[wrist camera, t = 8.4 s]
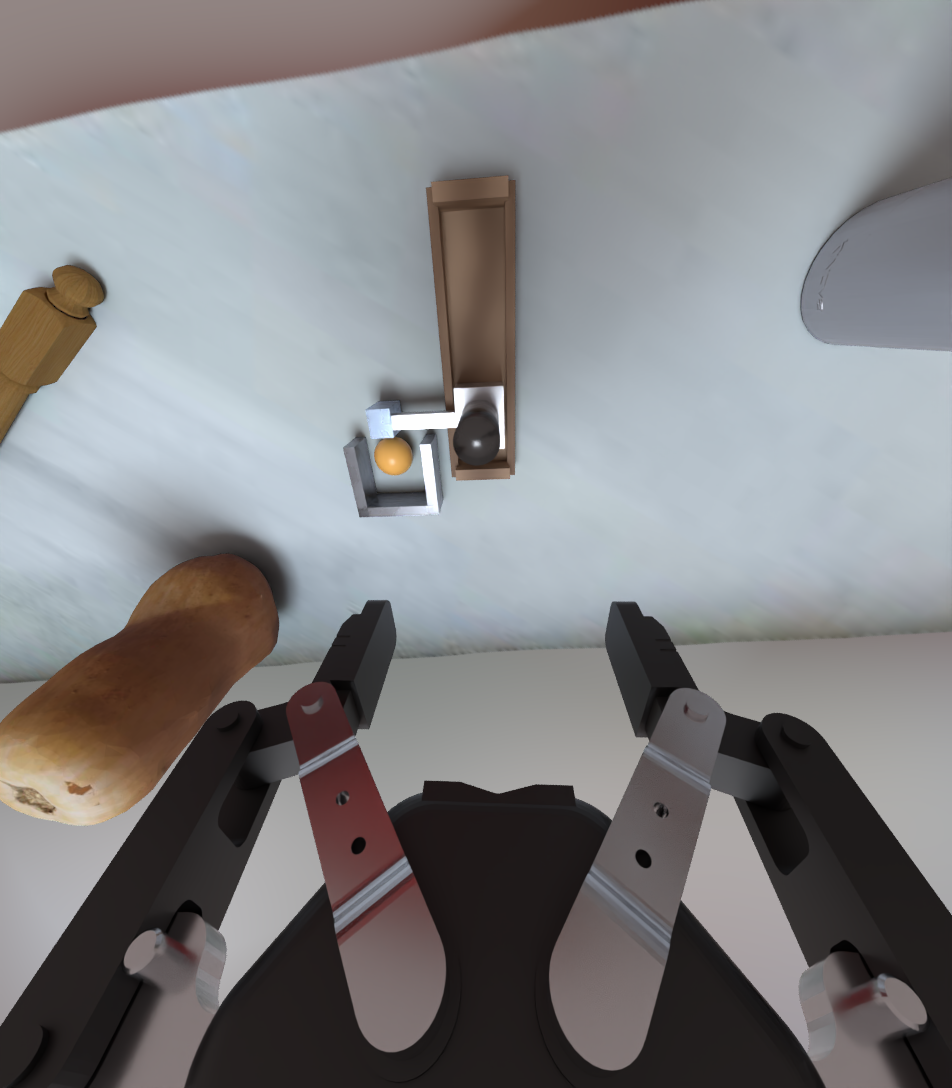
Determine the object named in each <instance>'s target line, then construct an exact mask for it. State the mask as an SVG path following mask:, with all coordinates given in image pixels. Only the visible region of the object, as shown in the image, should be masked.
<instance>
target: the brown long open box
mask: <svg viewBox="0 0 952 1088" xmlns="http://www.w3.org/2000/svg"><path fill="white" fill-rule="evenodd" d="M431 185H432V187H427V188H426V193H427V204H428V215H429V226H430V237H431V248H432V260H433V271H434V282H435V293H436V304H437V315H438V326H439V338H440V349H441V360H442V371H443V382H444V393H445V404H446V410H455V400H454V387H455V386H456V384H458V383H478V382H497V381H503V386H504V448H501V449H499V452H498V454H497V455H496V457H495V458H494V459H493V460H492V461H490V462H489V463H487V464H484V465H479V466H474V465H470V464H467V463H465V462H463V461H462V460H461V459H460V458H459V457H458V456H457V454H456V453H455V450H454V447H453V436H454V433H455V430H456V427H455V428H448V438H449V449H450V460H451V471H452V477H456V481H458V480H487V479H510V475H515V180H510V181H508V175H507V176H495V177H484V178H472V179H460V180H449V181H437V182H431Z"/></svg>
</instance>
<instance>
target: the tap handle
mask: <svg viewBox="0 0 952 1088" xmlns="http://www.w3.org/2000/svg"><path fill="white" fill-rule="evenodd" d="M52 277H53V281H54V284H55V287H52V288H45V287H39V288H32V289H28V290H24V291H23V292H22V294H21V295H20V297H19V299H18V300H17V302H16V304H15V305H14V307H13V309H12V310H11V312H10V314H9V315H8V317H7V319H6V320H5V322H4V324H3V325H2V327H1V329H0V443H1V441H2V439H3V438H4V436H5V434H6V433H7V431H8V429H9V427H10V426H11V424H12V422H13V421H14V419H15V417H16V416H17V414H18V412H19V410H20V409H21V407H22V405H23V404H24V402H25V400H26V398H27V397H28V395H29V394H32V393H36V392H37V391H38V390H39V388H40V386H44V385H48V384H52V383H55V382H57V381H58V379H59V378H60V376H61V375H62V374H63V372H64V371H65V370H66V368H67V367H68V365H69V364H70V363H71V361H72V360H73V359H74V357H75V356H76V355H77V353H78V352H79V350H80V349H81V348H82V346H83V345H84V344H85V342H86V341H87V339H88V338H89V337H90V335H91V334H92V333H93V331H94V330H95V328H96V327H97V326H96V323H95V321H94V320H93V318H92V317H91V316H90V314H89V311H88V308H87V307H89V308H90V307H94V306H96V305H99V304H100V303H102V302H103V300H104V294H103V291H102V288H101V285H100V284H99V282H98V281H97V280H96V279H95V278H94V277H93V276H92V275H91V274H89V273H87V272H86V271H84V270H83V269H80V268H77V267H75V266H71V265H66V266H62V267H58V268H56V269H55V270H54V271H53V274H52ZM53 304H54V305H55V306H56V307H57V308H58V309H59V310H61V311H63V312H65V313H66V314H68V315H70V316H74V317H78V318H83V317H86V316H87V318H86V319H76V318H73V317H70V316H67V315H66V314H64V313H62V312H61V311H59V310H57V309H56V308H55V307H54V306H53Z"/></svg>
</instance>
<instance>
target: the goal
mask: <svg viewBox="0 0 952 1088" xmlns="http://www.w3.org/2000/svg"><path fill="white" fill-rule="evenodd" d="M343 449H344V454H345V458H346V462H347V466H348V470H349V475H350V479H351V483H352V487H353V491H354V495H355V500H356V504H357V508H358V512H359V516H360V517H382V516H417V515H439V513H440V509H441V506H442V503H443V494H442V485H441V476H440V466H439V457H438V447H437V438H436V434H427V435H425V437H424V438H423V440H422V442H421V443H420V451H421V458H422V466H423V474H424V481H425V489H426V492H416V493H386V494H377V491H376V486H375V481H374V476H373V471H372V466H371V461H370V456H369V452H368V447H367V442H366V437H357V438H354V439H353V440H352V441H351V442H350V443H348V444H347V445H346V446H345V447H343Z"/></svg>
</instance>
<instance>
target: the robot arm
mask: <svg viewBox="0 0 952 1088" xmlns="http://www.w3.org/2000/svg"><path fill="white" fill-rule="evenodd" d="M801 311H802V316H803V321H804V323H805V325H806V327H807V329H808V331H809V332H810V333H811V334H812V335H813V336H814V337H815V338H816V339H818V340H820V341H822V342H824V343H828V344H834V345H847V346H865V347H879V348H897V349H916V350H935V351H952V178H949V179H945V180H942V181H939V182H936V183H932V184H929V185H926V186H923V187H920V188H917V189H914V190H911V191H908V192H905V193H902V194H899V195H896V196H893V197H890V198H887V199H884V200H881V201H878V202H876V203H874V204H872V205H870V206H868V207H866V208H864V209H863V210H861V211H860V212H858V213H857V214H856V215H854V216H853V217H852V218H850V219H849V220H847V221H846V222H845V223H844V224H843V225H842V226H841V227H840V228H839V229H838V230H837V231H836V232H835V233H834V234H833V235H832V236H831V238H830V239H829V240H828V241H827V243H826V244H825V245H824V246H823V248H822V249H821V251H820V252H819V254H818V256H817V257H816V259H815V261H814V262H813V264H812V266H811V268H810V271H809V273H808V276H807V278H806V280H805V284H804V289H803V293H802V302H801ZM605 643H606V649H607V653H608V655H609V659H610V662H611V665H612V668H613V671H614V673H615V676H616V680H617V683H618V686H619V688H620V691H621V694H622V697H623V700H624V703H625V706H626V709H627V712H628V715H629V718H630V721H631V724H632V727H633V730H634V733H635V736H636V737H648V739H649V743H648V745H647V746H646V747H645V749H644V752H643V754H642V756H641V758H640V760H639V763H638V765H637V767H636V769H635V771H634V774H633V776H632V778H631V781H630V782H629V785H628V787H627V789H626V791H625V794H624V796H623V798H622V800H621V802H620V805H619V807H618V809H617V812H616V814H615V816H614V818H613V820H611V819H610V818H609V817H608V816H606V815H605V814H604V813H602V812H601V811H600V810H598V809H597V808H595V807H594V806H592V805H590V804H588V803H586V802H584V801H582V800H579V799H576V798H575V796H574V790H573V786H566V785H565V786H564V785H537V784H536V785H532V786H528V787H524V788H520V789H516V790H512V791H508V792H505V793H500V794H496V793H493V792H489V791H486V790H483V789H480V788H477V787H474V786H471V785H468V784H465V783H462V782H449V781H424V788H423V793H420V794H416V795H414V796H411V797H409V798H407V799H405V800H403V801H402V802H400V803H398V804H397V805H396V806H394V807H393V808H392V809H390V810H389V811H388V812H387V811H386V808H385V806H384V803H383V801H382V799H381V796H380V794H379V791H378V789H377V787H376V784H375V782H374V780H373V777H372V775H371V772H370V770H369V768H368V765H367V763H366V760H365V758H364V756H363V753H362V751H361V748H360V746H359V744H358V741H357V739H356V738H355V736H356V733H357V730H358V729H369V728H370V725H371V722H372V718H373V715H374V712H375V709H376V706H377V703H378V700H379V696H380V693H381V690H382V687H383V684H384V681H385V678H386V674H387V671H388V668H389V665H390V662H391V659H392V656H393V652H394V649H395V645H396V628H395V623H394V618H393V614H392V609H391V604H390V602H389V601H388V600H368V601H367V602H366V604H365V606H364V608H363V611H362V613H361V614H353V615H352V616H351V617H350V618H349V619H348V620H346V621H345V622H344V623H343V624H342V626H341V628H340V630H339V632H338V634H337V637H336V638H335V639H334V641H333V643H332V647H330V649H329V651H328V653H327V655H326V657H325V659H324V661H323V663H322V665H321V666H320V668H319V670H318V672H317V674H316V676H315V678H314V680H313V682H312V683H311V684H308V685H306V686H304V687H302V688H301V689H299V690H298V691H297V692H296V693H295V694H294V695H293V696H292V697H291V699H290V700H289V702H286V703H283V704H279V705H276V706H272V707H268V708H264V709H260V710H257V709H256V707H255V705H254V704H253V703H251V702H249V701H236V702H233V703H230V704H228V705H225V706H223V707H222V708H220V709H219V710H217V711H216V712H215V713H213V714H212V715H211V716H210V717H209V718H208V719H207V721H206V722H205V723H204V725H203V726H202V728H201V729H200V731H199V732H198V734H197V735H196V737H195V738H194V740H193V741H192V742H191V744H190V746H189V747H188V748H187V750H186V751H185V753H184V754H183V756H182V758H181V759H180V760H179V762H178V763H177V765H176V766H175V768H174V769H173V771H172V772H171V774H170V775H169V777H168V778H167V780H166V781H165V783H164V784H163V786H162V787H161V789H160V790H159V792H158V793H157V795H156V796H155V798H154V799H153V801H152V802H151V803H150V805H149V806H148V808H147V809H146V811H145V812H144V814H143V815H142V817H141V818H140V820H139V821H138V823H137V824H136V826H135V827H134V829H133V830H132V832H131V833H130V835H129V836H128V838H127V839H126V841H125V842H124V843H123V845H122V847H121V848H120V850H119V851H118V852H117V854H116V855H115V857H114V858H113V860H112V861H111V863H110V864H109V866H108V867H107V869H106V870H105V872H104V873H103V875H102V876H101V878H100V879H99V881H98V882H97V884H96V885H95V887H94V888H93V890H92V891H91V893H90V894H89V895H88V897H87V898H86V900H85V902H84V903H83V905H82V906H81V907H80V909H79V911H78V912H77V913H76V915H75V916H74V918H73V919H72V921H71V922H70V924H69V925H68V927H67V928H66V930H65V931H64V933H63V934H62V936H61V937H60V939H59V940H58V942H57V944H56V945H55V946H54V948H53V949H52V951H51V952H50V953H49V955H48V956H47V958H46V960H45V961H44V962H43V964H42V965H41V967H40V968H39V970H38V971H37V973H36V974H35V976H34V977H33V979H32V980H31V982H30V983H29V985H28V986H27V988H26V989H25V991H24V992H23V994H22V995H21V997H20V998H19V1000H18V1001H17V1002H16V1004H15V1005H14V1007H13V1008H12V1010H11V1011H10V1013H9V1014H8V1016H7V1017H6V1019H5V1021H4V1022H3V1023H2V1025H1V1026H0V1088H952V915H951V914H950V912H949V911H948V910H947V908H946V907H945V905H944V904H943V902H942V901H941V900H940V898H939V897H938V896H937V894H936V893H935V892H934V890H933V889H932V887H931V886H930V885H929V883H928V882H927V880H926V879H925V878H924V876H923V875H922V873H921V872H920V871H919V869H918V868H917V867H916V865H915V864H914V862H913V861H912V860H911V858H910V857H909V855H908V854H907V853H906V851H905V850H904V849H903V847H902V846H901V844H900V843H899V842H898V840H897V839H896V838H895V836H894V835H893V833H892V832H891V831H890V829H889V828H888V826H887V825H886V824H885V822H884V821H883V820H882V818H881V817H880V815H879V814H878V813H877V811H876V810H875V808H874V807H873V806H872V804H871V803H870V802H869V800H868V799H867V797H866V796H865V795H864V793H863V792H862V790H861V789H860V788H859V786H858V785H857V784H856V782H855V781H854V780H853V778H852V777H851V776H850V774H849V773H848V771H847V770H846V769H845V767H844V766H843V764H842V763H841V761H840V760H839V759H838V757H837V756H836V755H835V753H834V752H833V750H832V749H831V748H830V746H829V745H828V743H827V742H826V741H825V739H824V738H823V737H822V736H821V735H820V734H819V733H818V732H817V731H816V730H815V729H814V728H813V727H811V726H810V725H808V724H807V723H805V722H803V721H802V720H800V719H798V718H796V717H793V716H790V715H787V714H782V713H772V714H768V715H766V716H765V717H764V718H763V720H762V722H757V721H754V720H751V719H747V718H744V717H740V716H737V715H733V714H730V713H727V712H725V711H723V709H722V708H721V706H720V705H719V704H718V703H717V702H716V701H715V700H714V699H712V698H711V697H710V696H708V695H707V694H705V693H703V692H701V691H699V690H698V688H697V686H696V685H695V683H694V681H693V679H692V677H691V675H690V673H689V672H688V670H687V668H686V666H685V665H684V663H683V661H682V659H681V657H680V655H679V654H678V652H676V648H675V646H674V644H673V643H672V642H671V639H670V637H669V635H668V633H667V632H666V630H665V628H664V627H663V626H662V625H661V624H660V623H659V622H658V621H657V620H655V619H654V618H653V617H650V616H643V614H642V612H641V610H640V608H639V606H638V605H637V603H636V602H612V604H611V607H610V613H609V618H608V623H607V628H606V634H605ZM298 774H299V779H300V783H301V787H302V791H303V795H304V799H305V803H306V807H307V811H308V815H309V819H310V823H311V827H312V831H313V835H314V839H315V843H316V847H317V851H318V855H319V859H320V863H321V867H322V871H323V875H324V879H325V883H324V884H323V885H322V886H321V888H320V889H319V890H318V891H317V892H316V893H315V894H314V896H313V897H312V898H311V899H310V900H309V901H308V902H307V904H306V905H305V906H304V907H303V908H302V909H301V911H300V912H299V913H298V914H297V915H296V916H295V917H294V919H293V920H292V921H291V922H290V923H289V924H288V926H287V927H286V928H285V929H284V930H283V931H282V932H281V933H280V934H279V936H278V937H277V938H276V939H275V940H274V941H273V942H272V944H271V945H270V946H269V947H268V948H267V949H266V951H265V952H264V953H263V954H262V955H261V956H260V957H259V959H258V960H257V961H256V962H255V963H254V964H253V966H252V967H251V968H250V969H249V970H248V971H247V972H246V973H245V975H244V976H243V977H242V978H241V979H240V980H239V981H238V983H237V984H236V985H235V986H234V987H233V989H232V990H231V991H230V993H229V994H228V995H227V997H226V998H225V1000H224V1001H223V1002H222V1004H221V1006H220V1007H219V1002H218V990H219V984H220V979H221V976H222V972H223V969H224V965H225V961H226V942H225V939H224V937H223V935H222V934H221V933H220V932H219V931H218V930H219V928H220V926H221V923H222V921H223V918H224V916H225V913H226V911H227V909H228V906H229V904H230V902H231V899H232V897H233V894H234V892H235V890H236V887H237V885H238V883H239V880H240V878H241V875H242V873H243V871H244V868H245V866H246V864H247V861H248V859H249V856H250V854H251V851H252V849H253V847H254V844H255V842H256V840H257V837H258V835H259V833H260V830H261V828H262V825H263V823H264V820H265V818H266V816H267V813H268V811H269V809H270V806H271V804H272V801H273V799H274V797H275V794H276V792H277V789H278V787H279V785H280V782H281V780H282V779H285V778H288V777H291V776H295V775H298ZM711 788H712V789H715V790H717V791H720V792H723V793H726V794H729V795H732V796H733V797H734V799H735V801H736V804H737V806H738V808H739V810H740V813H741V815H742V817H743V819H744V822H745V824H746V826H747V828H748V831H749V833H750V835H751V837H752V840H753V842H754V844H755V846H756V849H757V851H758V853H759V855H760V858H761V860H762V862H763V864H764V867H765V869H766V871H767V873H768V875H769V878H770V880H771V883H772V885H773V887H774V889H775V892H776V894H777V896H778V898H779V900H780V903H781V905H782V907H783V910H784V912H785V914H786V916H787V919H788V921H789V923H790V925H791V928H792V930H793V932H794V934H795V937H796V939H797V941H798V943H799V946H800V948H801V950H802V953H803V954H804V957H805V959H806V961H807V964H808V966H809V968H808V969H807V970H805V971H804V972H803V974H802V976H801V978H800V981H799V997H800V1003H801V1006H802V1009H803V1013H804V1016H805V1019H806V1022H807V1027H808V1033H809V1048H808V1053H806V1051H805V1050H804V1048H803V1047H802V1045H801V1044H800V1043H799V1041H798V1039H797V1038H796V1037H795V1035H794V1034H793V1033H792V1031H791V1030H790V1029H789V1027H788V1026H787V1025H786V1024H785V1022H784V1021H783V1020H782V1019H781V1017H779V1015H778V1014H777V1013H776V1012H775V1010H774V1009H773V1008H772V1007H771V1006H770V1005H769V1003H768V1002H767V1001H766V1000H765V999H764V998H763V996H762V995H761V994H760V993H759V992H758V990H757V989H756V988H755V987H754V986H753V985H752V983H751V982H750V981H749V980H748V979H747V978H746V976H745V975H744V974H743V973H742V972H741V970H740V969H739V968H738V967H737V966H736V965H735V964H734V962H733V961H732V960H731V959H730V957H729V956H728V955H727V954H726V953H725V952H724V950H723V949H722V948H721V947H720V946H719V945H718V943H717V942H716V941H715V940H714V939H713V937H712V936H711V935H710V934H709V933H708V932H707V930H706V929H705V928H704V927H703V926H702V924H701V923H700V922H699V921H698V920H697V919H696V917H695V916H694V915H693V914H692V913H691V912H690V910H689V909H688V908H687V907H686V906H685V904H684V903H683V902H682V901H681V897H682V893H683V890H684V886H685V882H686V879H687V875H688V871H689V868H690V864H691V860H692V857H693V853H694V850H695V846H696V842H697V839H698V835H699V831H700V828H701V824H702V820H703V817H704V813H705V809H706V806H707V802H708V798H709V795H710V791H711Z"/></svg>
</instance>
